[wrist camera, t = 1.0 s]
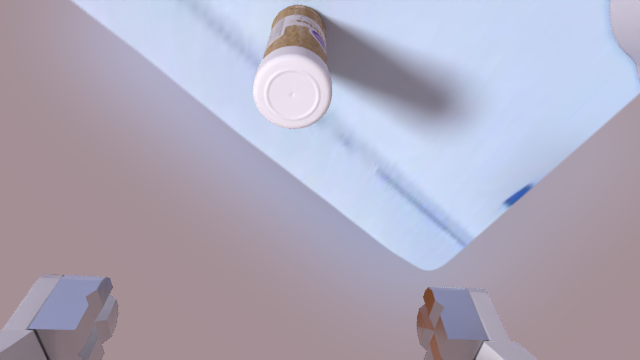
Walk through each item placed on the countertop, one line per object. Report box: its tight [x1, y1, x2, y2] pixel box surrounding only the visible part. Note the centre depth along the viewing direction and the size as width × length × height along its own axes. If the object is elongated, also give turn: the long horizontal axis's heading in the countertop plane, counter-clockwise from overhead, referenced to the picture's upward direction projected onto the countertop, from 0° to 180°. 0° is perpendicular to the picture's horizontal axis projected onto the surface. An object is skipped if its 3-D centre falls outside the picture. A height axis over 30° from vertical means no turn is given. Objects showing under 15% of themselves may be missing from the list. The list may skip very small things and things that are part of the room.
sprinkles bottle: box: [253, 5, 332, 129], centre depth 29 cm, size 5×5×13 cm
